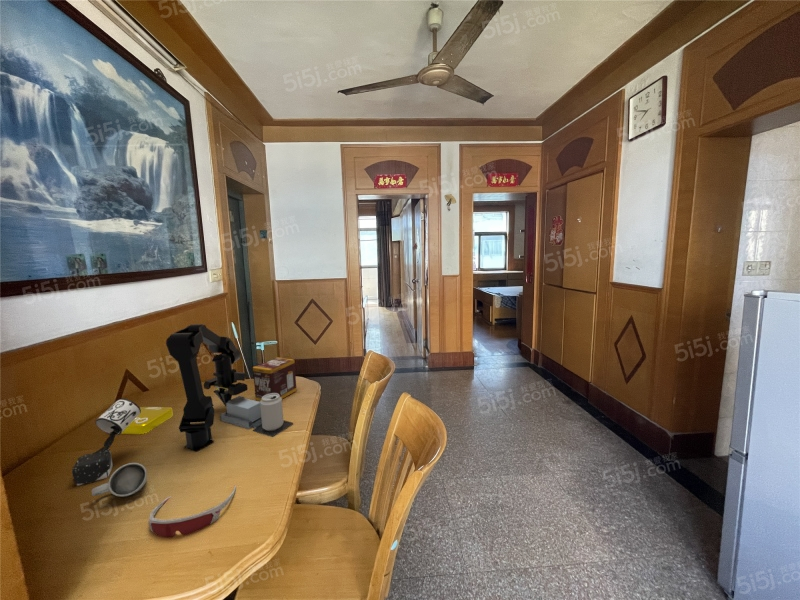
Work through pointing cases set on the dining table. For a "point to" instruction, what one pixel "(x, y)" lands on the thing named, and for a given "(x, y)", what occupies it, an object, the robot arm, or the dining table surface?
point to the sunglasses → (186, 520)
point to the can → (271, 411)
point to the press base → (253, 424)
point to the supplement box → (275, 378)
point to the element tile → (148, 419)
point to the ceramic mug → (124, 481)
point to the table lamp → (101, 460)
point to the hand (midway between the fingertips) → (227, 406)
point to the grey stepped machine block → (244, 408)
